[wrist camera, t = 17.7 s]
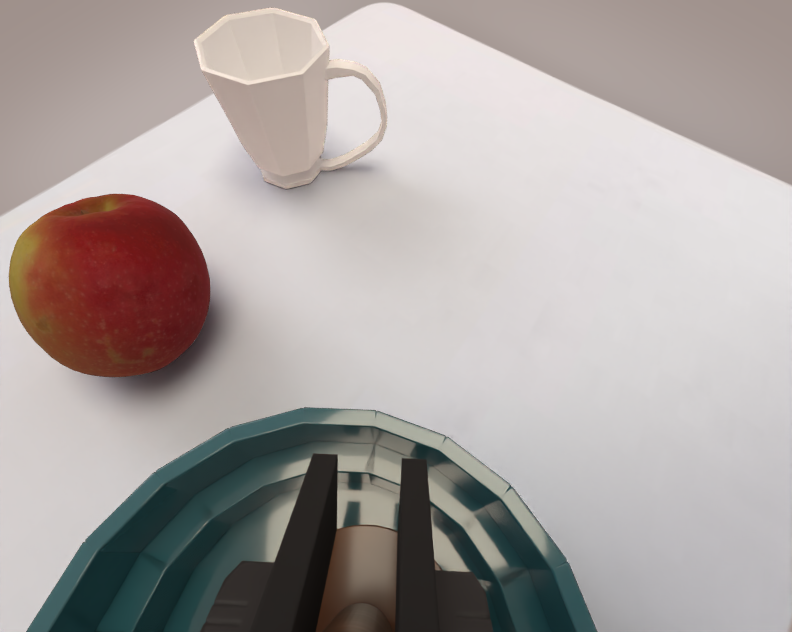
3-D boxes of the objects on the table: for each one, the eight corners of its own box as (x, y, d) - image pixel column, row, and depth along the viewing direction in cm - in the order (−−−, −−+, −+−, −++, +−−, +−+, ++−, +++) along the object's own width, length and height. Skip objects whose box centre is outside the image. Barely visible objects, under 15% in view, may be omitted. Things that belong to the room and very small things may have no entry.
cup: (250, 129, 31) (209, 3, 24) (389, 134, 31) (389, 10, 24) (228, 202, 28) (173, 80, 21) (384, 208, 28) (383, 88, 21)
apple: (263, 295, 24) (213, 190, 17) (166, 423, 21) (53, 356, 14) (156, 246, 26) (70, 131, 19) (48, 358, 22) (-107, 267, 15)
